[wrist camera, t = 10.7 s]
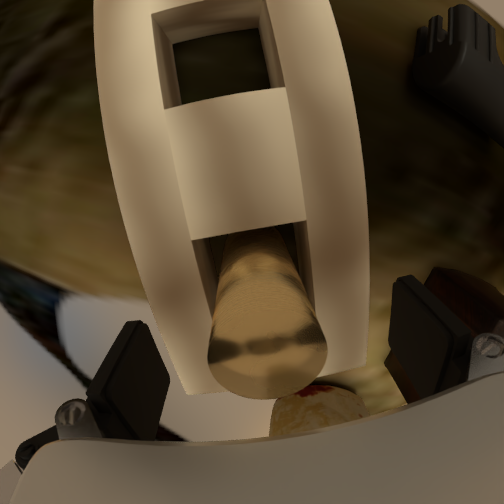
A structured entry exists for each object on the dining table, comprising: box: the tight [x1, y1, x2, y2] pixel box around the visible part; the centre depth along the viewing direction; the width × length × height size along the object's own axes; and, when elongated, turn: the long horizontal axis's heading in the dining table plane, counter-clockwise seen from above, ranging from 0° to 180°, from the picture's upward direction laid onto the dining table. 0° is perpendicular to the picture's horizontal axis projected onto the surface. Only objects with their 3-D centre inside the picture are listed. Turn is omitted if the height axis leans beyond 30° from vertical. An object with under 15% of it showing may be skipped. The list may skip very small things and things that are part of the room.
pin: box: [207, 226, 328, 400], centre depth 14 cm, size 4×4×11 cm
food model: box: [269, 385, 370, 437], centre depth 15 cm, size 10×7×20 cm
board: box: [94, 0, 370, 395], centre depth 15 cm, size 12×27×5 cm, turn 10°
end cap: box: [412, 4, 504, 148], centre depth 12 cm, size 10×7×7 cm
